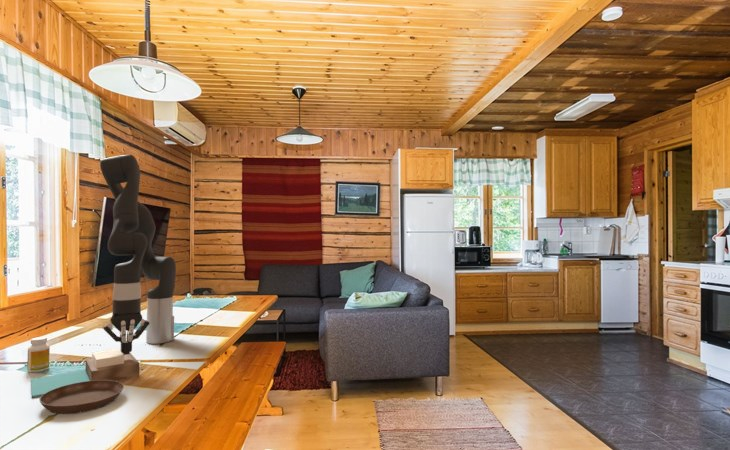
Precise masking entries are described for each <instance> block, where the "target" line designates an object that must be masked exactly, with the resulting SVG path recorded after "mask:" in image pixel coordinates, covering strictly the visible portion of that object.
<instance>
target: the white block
mask: <svg viewBox="0 0 730 450" xmlns="http://www.w3.org/2000/svg"><path fill="white" fill-rule="evenodd" d="M91 354H92V355H91V356H92V357H91V359H92V361H93V363H94V365H95V367H96V368H100V367H106V366H112V365H118V364H124V354H123V353H122V352H121V349H120V348H115V349H108V350H102V351H96V352H92V353H91Z"/></svg>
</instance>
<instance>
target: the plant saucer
mask: <svg viewBox="0 0 730 450" xmlns="http://www.w3.org/2000/svg"><path fill="white" fill-rule="evenodd" d="M124 388H125V386H124V384H123V383H122V382H120V381H111V380H95V381H85V382H79V383H74V384H69V385H65V386H62V387H59V388H56V389H53V390H51V391H49V392H47V393H45V394H43V395H42V396H41V397H39V403H40V404H41V406H43V408H44V409H46V410H47V411H48V412H50V413H53V414H57V415H72V414H74V415H75V414H81V413H86V412H91V411H94V410H98V409H100V408H103V407H105V406H108V405H110V404H112V403H113V402H114V401H115V400H116V399H117V398H118V397H119V395H120V394H121V393H122V391H123V390H124Z"/></svg>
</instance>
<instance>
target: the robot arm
mask: <svg viewBox="0 0 730 450" xmlns="http://www.w3.org/2000/svg"><path fill="white" fill-rule="evenodd" d="M99 166H100V171H101V174H102V176H103V179H104V181H105V182H106V185H107V186H108V188H109V190H110V192H111V194H112V195H113V198H114V200H115V201H114V203H113V206H112V216H113V217H112V218H113V221H112V223H113V224H112V230H111V233H110V235H109V237H108V241H107V250H108V252H109V253H110V254H111V255H114V256H133V257H132V258H131V260H129V261H126V262H121V263H118V264H115V266H114V269H113V276H114V277H113V289H112V316H111V318H110V321H109V322H108V323H106V324H104V325H103V326H102V330H103V331H105V332H106V334H107V335H108V336H110V338H112V339H113V340H114V342H117V343H118V342H119V343H120V351H121V352H122V353H123V354H124V355H126V354H130V353H132V351H133V341H134V340H137V339H139V338H140V337H141V335H143V333H144V332H145V330H146V332H145V333H146V335H145V337H146V341H145V342H146V343H147V344H152V345H153V344H154V345H155V344H157V345H158V344H164V343H168V342H172V341H174V340H175V316H174V291H175V287H176V274H177V273H176V272H177V266H176V261H175V259H174V258H173V257H171V256H157V255H155V253H154V251H153V248H152V242H153V240H154V237H155V234H156V224H155V221H154V218H153V215H152V213H151V211H150V210H149V208H148V207H147V206H145V204H143V203H141V202H140V201H138V198H139V192H140V185H141V184H140V182H141V170H140V165H139V163H138V160H137V158H136V157H135V156H134V155H133V154H123V155H122V154H120V155H116V156H110V157H106V158H105V157H104V158H102V159H101V160H100V161H99ZM123 183H126V184H125V186H124V187H123V185H122V184H123ZM141 271H142V273H143V275H144V277H145V278H146V279H148V280H150V281H151V280H155V281H159V282H158V285H157V286H156V287H153V288H151V289H148V290H147V293H146V319H144V318H143V315H142V314H141V311H142V310H141V308H142V304H141V303H142V287H141ZM138 325H139V327H138V328H137V326H138ZM113 326H114V327H115V328H116V330H117V331H118V332H119V336H118V335H117V334H116V333H115V332H114V331H113V329H114V327H113ZM136 328H137V329H136ZM135 329H136V330H135Z"/></svg>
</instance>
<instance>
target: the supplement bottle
mask: <svg viewBox="0 0 730 450" xmlns="http://www.w3.org/2000/svg"><path fill="white" fill-rule="evenodd" d="M30 344H31V345H29V346H28V348H27V363H26V364H27V367H26V368H27V372H28V373H39V372H44V371H47V370H49V368H50V350H51V349H50V344H48V337H46V336H39V337H38V336H37V337H33V338H31V339H30Z"/></svg>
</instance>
